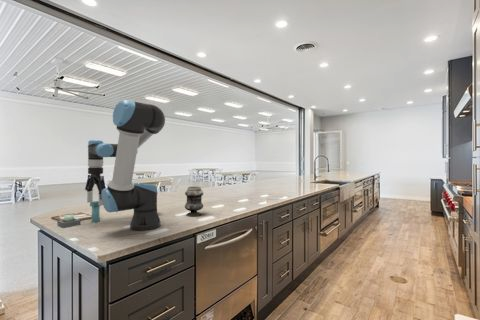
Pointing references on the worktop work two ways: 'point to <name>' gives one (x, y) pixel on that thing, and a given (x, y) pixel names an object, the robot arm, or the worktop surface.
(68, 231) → the worktop surface
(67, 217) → the button
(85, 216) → the clipboard
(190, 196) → the apothecary jar
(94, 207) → the teal square-headed peg
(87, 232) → the worktop surface
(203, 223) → the worktop surface
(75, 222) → the button housing
